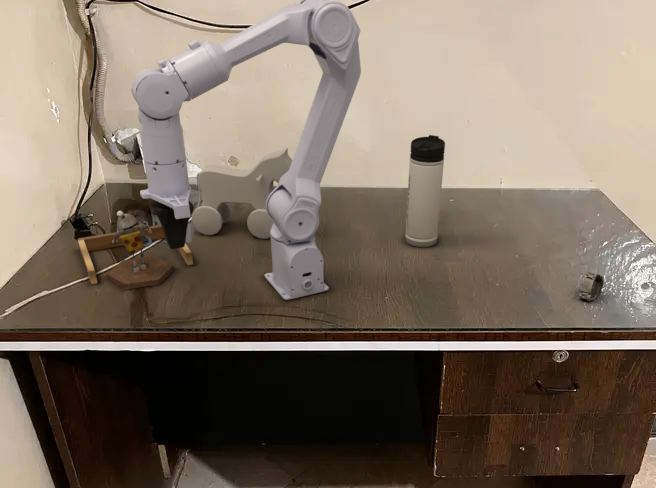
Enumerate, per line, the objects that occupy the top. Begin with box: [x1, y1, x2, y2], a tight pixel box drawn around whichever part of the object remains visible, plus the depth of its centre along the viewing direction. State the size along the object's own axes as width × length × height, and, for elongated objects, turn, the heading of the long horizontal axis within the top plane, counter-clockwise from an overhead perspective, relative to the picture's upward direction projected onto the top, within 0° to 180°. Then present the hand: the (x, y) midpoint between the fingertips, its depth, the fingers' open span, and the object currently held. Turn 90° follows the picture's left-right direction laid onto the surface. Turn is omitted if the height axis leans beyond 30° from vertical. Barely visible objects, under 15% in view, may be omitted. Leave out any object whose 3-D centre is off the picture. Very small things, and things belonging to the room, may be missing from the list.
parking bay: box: [76, 224, 194, 285], centre depth 112 cm, size 14×17×2 cm
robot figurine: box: [106, 210, 175, 290], centre depth 104 cm, size 11×9×12 cm
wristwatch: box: [578, 270, 604, 302], centre depth 103 cm, size 3×5×5 cm
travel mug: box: [404, 134, 446, 248], centre depth 117 cm, size 6×7×20 cm
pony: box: [191, 147, 293, 240], centre depth 120 cm, size 20×10×17 cm, turn 84°
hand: (176, 246), depth 95 cm, fingers closed
